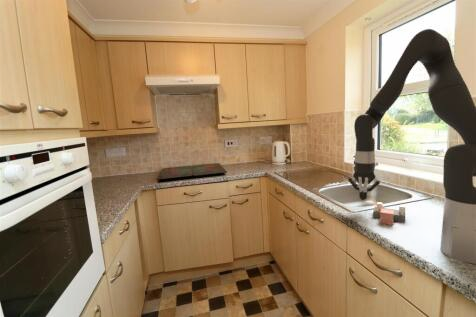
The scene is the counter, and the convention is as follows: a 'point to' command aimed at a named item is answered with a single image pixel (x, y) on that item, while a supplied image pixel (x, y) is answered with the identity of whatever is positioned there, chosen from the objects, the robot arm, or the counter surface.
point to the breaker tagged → (379, 205)
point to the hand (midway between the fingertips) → (363, 199)
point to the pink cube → (386, 216)
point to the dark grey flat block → (397, 214)
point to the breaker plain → (401, 209)
